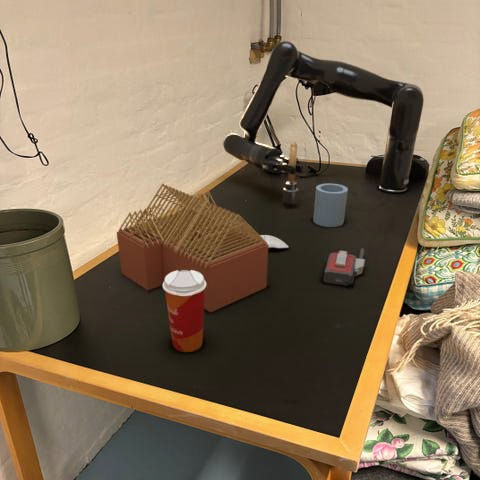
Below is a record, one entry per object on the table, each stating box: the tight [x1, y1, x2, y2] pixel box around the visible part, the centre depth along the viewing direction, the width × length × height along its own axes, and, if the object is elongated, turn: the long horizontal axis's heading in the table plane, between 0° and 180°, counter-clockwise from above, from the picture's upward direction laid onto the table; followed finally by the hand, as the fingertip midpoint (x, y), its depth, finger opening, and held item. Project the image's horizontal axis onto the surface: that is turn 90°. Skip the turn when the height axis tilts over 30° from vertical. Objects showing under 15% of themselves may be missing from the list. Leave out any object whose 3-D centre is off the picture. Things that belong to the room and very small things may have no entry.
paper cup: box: [162, 270, 206, 353], centre depth 91 cm, size 8×8×14 cm
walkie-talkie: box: [323, 247, 366, 287], centre depth 121 cm, size 9×4×20 cm
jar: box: [312, 182, 349, 228], centre depth 146 cm, size 9×9×10 cm
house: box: [116, 182, 269, 313], centre depth 112 cm, size 28×23×19 cm
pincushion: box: [256, 228, 289, 249], centre depth 131 cm, size 12×6×6 cm, turn 81°
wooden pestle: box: [282, 141, 299, 205], centre depth 154 cm, size 5×5×18 cm
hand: (298, 170), depth 151 cm, fingers closed on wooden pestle
